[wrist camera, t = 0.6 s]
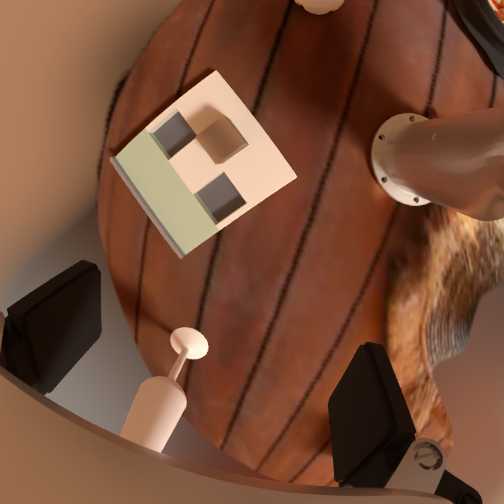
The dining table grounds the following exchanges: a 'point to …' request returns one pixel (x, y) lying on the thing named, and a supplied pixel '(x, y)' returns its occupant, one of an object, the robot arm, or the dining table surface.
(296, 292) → the dining table surface
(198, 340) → the champagne flute
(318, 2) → the water bottle
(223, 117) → the walnut block
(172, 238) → the board
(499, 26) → the casserole
